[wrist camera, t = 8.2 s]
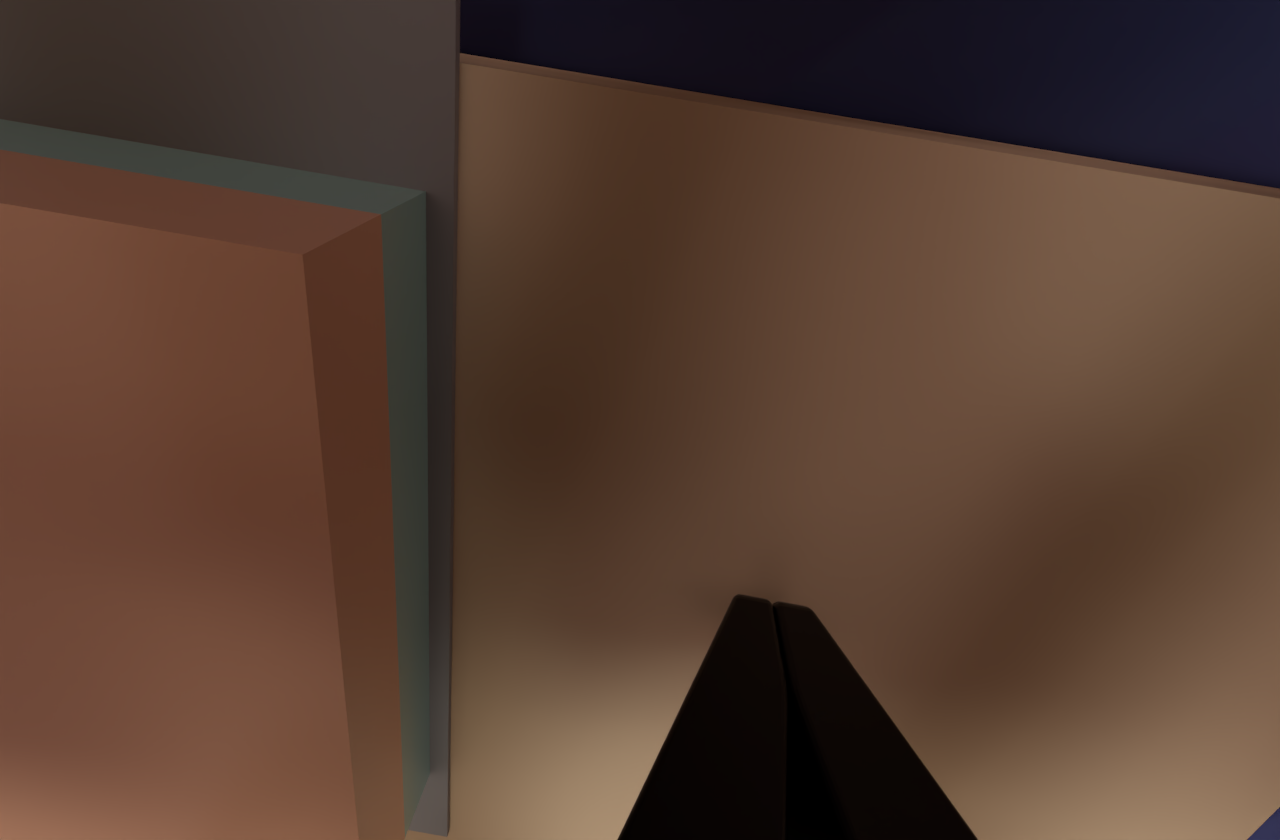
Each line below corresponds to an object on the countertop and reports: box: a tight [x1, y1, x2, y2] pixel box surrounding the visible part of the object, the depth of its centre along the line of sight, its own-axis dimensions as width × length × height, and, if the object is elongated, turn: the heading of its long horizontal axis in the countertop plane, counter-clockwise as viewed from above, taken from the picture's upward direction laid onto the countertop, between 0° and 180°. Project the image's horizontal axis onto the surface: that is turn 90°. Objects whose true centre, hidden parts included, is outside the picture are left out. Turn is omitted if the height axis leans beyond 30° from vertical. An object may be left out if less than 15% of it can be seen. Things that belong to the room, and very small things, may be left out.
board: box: [0, 0, 1280, 840], centre depth 9 cm, size 20×14×1 cm
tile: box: [0, 119, 430, 840], centre depth 7 cm, size 2×8×8 cm
